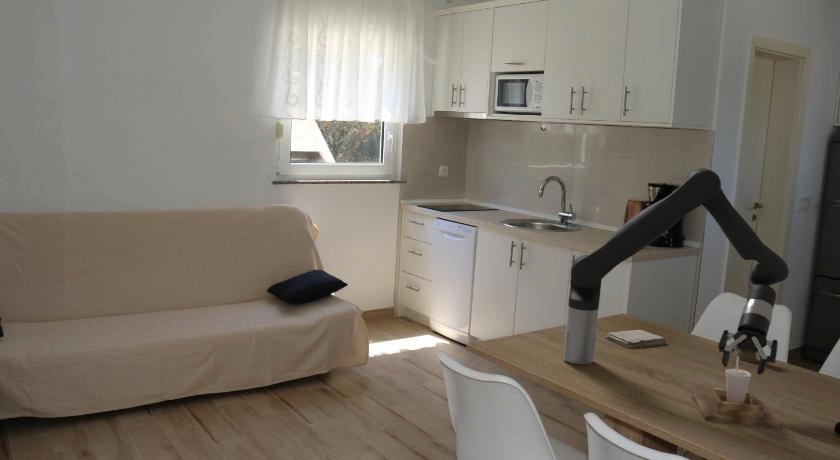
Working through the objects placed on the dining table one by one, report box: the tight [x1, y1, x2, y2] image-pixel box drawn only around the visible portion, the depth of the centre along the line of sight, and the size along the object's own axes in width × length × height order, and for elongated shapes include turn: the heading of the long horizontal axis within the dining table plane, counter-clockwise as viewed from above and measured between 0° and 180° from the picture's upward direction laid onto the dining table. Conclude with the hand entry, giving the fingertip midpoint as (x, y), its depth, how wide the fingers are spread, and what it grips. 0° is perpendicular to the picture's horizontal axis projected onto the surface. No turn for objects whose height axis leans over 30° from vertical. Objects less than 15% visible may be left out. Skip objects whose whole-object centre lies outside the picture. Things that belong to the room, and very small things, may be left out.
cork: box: [735, 350, 757, 363], centre depth 237 cm, size 6×6×11 cm
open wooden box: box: [691, 387, 781, 430], centre depth 192 cm, size 18×16×4 cm
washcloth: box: [605, 329, 667, 349], centre depth 251 cm, size 12×18×3 cm, turn 118°
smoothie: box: [724, 355, 752, 404], centre depth 191 cm, size 6×6×14 cm
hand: (741, 369), depth 193 cm, fingers open, 8 cm apart
